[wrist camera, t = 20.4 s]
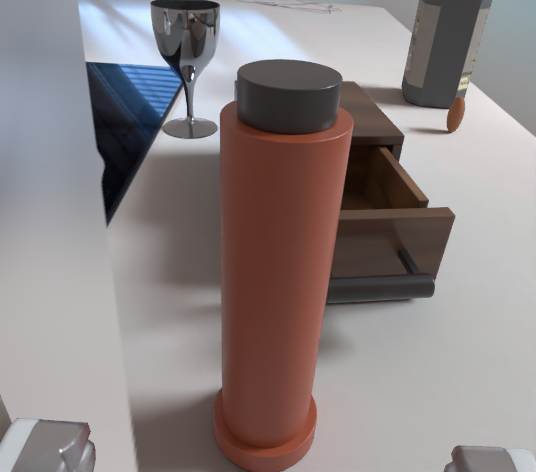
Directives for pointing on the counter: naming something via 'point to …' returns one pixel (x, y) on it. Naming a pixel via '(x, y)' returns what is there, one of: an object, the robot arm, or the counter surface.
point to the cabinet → (367, 120)
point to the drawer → (385, 232)
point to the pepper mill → (276, 254)
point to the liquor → (443, 50)
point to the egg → (455, 114)
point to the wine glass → (187, 52)
